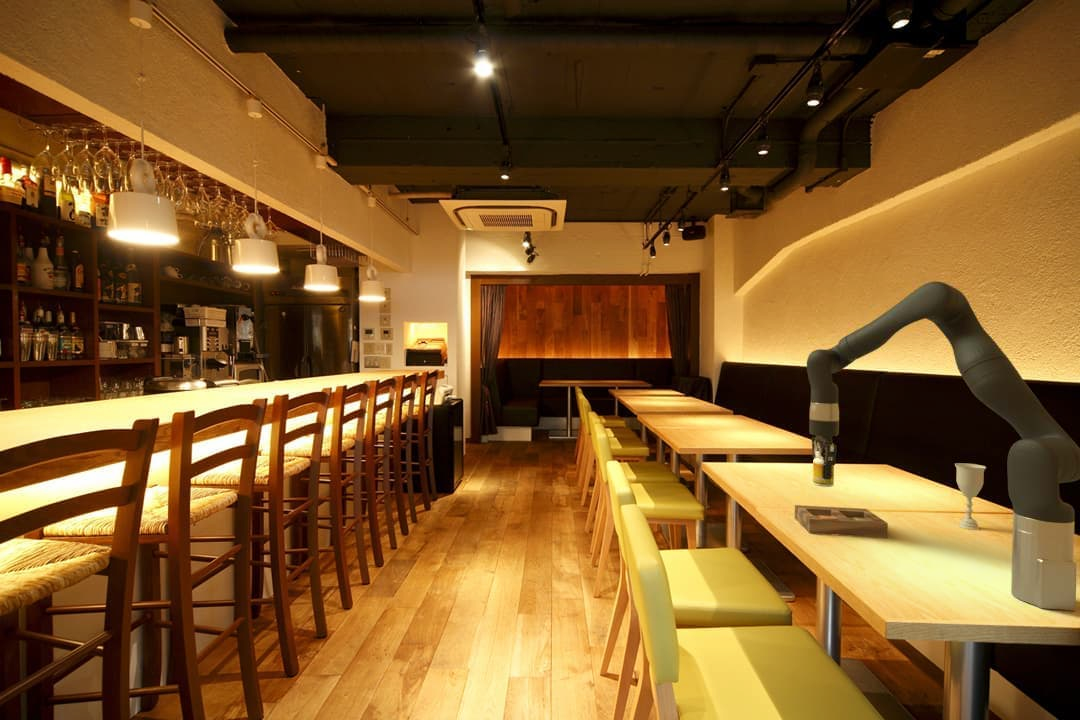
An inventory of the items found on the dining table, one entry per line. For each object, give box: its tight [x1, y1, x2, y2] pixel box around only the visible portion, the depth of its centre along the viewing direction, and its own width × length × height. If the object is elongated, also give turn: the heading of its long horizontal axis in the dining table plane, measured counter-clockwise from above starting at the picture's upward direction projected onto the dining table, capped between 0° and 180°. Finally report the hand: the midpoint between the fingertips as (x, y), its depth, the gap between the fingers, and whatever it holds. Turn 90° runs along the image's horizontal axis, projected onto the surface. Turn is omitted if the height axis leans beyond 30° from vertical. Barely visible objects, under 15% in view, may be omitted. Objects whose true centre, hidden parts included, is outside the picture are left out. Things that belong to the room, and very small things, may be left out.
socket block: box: [794, 504, 889, 539], centre depth 157 cm, size 14×20×4 cm
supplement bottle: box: [812, 450, 835, 488], centre depth 157 cm, size 5×5×10 cm
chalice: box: [954, 462, 987, 531], centre depth 158 cm, size 7×7×18 cm
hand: (823, 476), depth 157 cm, fingers closed on supplement bottle, 5 cm apart
